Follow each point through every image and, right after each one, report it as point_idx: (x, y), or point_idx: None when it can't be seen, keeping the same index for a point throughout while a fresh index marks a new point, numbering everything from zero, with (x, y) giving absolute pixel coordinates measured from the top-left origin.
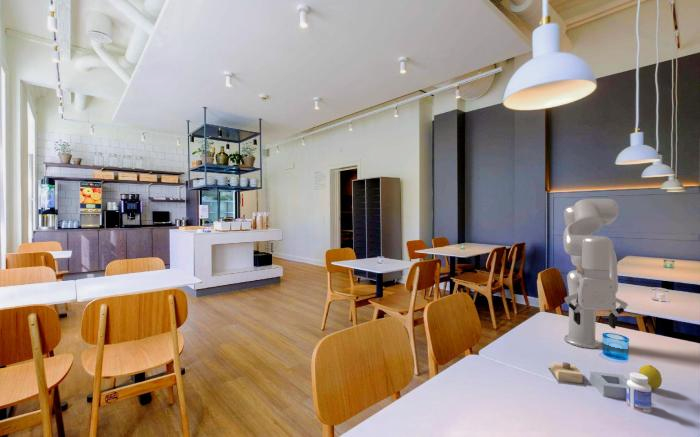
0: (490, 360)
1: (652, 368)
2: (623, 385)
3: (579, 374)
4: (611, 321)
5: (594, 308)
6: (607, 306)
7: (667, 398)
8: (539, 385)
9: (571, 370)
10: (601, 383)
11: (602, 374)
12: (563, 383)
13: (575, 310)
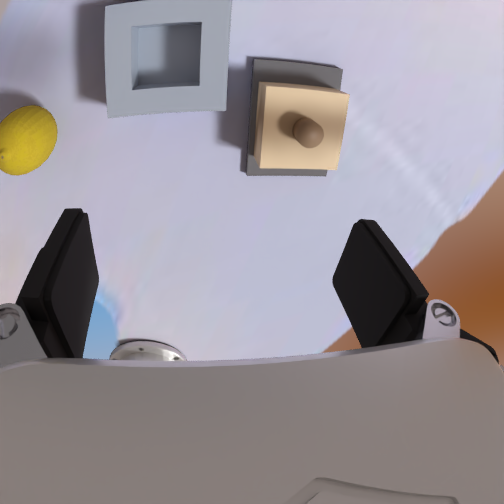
0: (447, 196)
1: (2, 141)
2: (147, 19)
3: (276, 86)
4: (77, 273)
5: (347, 359)
6: (95, 440)
7: (19, 86)
8: (397, 62)
9: (295, 111)
10: (230, 15)
11: (187, 93)
12: (327, 69)
13: (450, 317)
